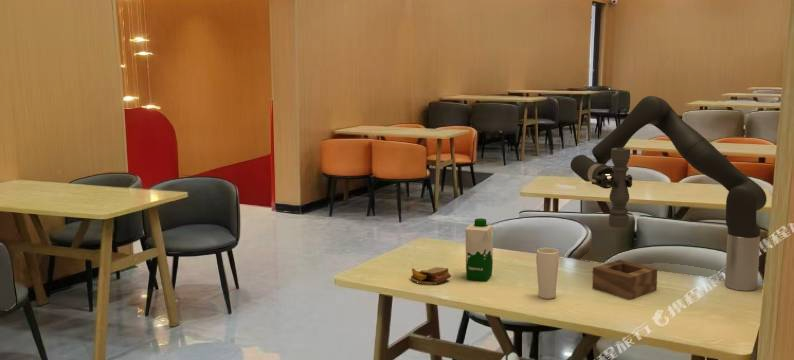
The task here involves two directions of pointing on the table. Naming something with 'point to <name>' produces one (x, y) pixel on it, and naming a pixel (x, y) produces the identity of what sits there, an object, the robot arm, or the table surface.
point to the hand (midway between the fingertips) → (623, 184)
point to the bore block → (625, 279)
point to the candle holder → (619, 188)
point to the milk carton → (479, 250)
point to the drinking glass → (547, 272)
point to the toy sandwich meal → (430, 275)
